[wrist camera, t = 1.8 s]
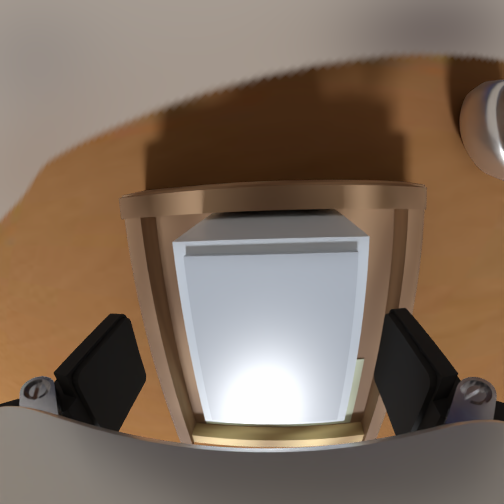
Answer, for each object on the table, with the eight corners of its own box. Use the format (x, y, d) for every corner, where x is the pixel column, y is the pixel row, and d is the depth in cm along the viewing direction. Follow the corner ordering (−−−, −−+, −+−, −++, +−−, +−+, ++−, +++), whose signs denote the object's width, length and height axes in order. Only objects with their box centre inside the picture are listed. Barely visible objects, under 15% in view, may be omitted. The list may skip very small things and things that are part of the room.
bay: (403, 181, 16) (444, 188, 11) (367, 419, 21) (378, 461, 16) (145, 190, 17) (102, 200, 13) (189, 420, 23) (175, 461, 18)
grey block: (329, 204, 15) (371, 238, 8) (324, 332, 18) (345, 424, 10) (219, 208, 16) (169, 244, 9) (230, 334, 18) (204, 424, 11)
